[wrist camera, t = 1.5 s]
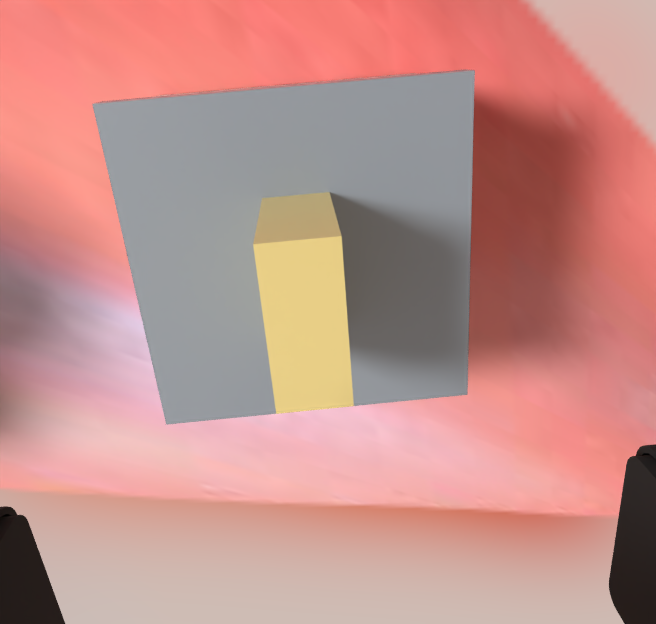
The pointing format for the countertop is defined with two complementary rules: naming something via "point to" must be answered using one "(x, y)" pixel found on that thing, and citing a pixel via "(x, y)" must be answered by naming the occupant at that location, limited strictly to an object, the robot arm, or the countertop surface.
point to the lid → (299, 241)
